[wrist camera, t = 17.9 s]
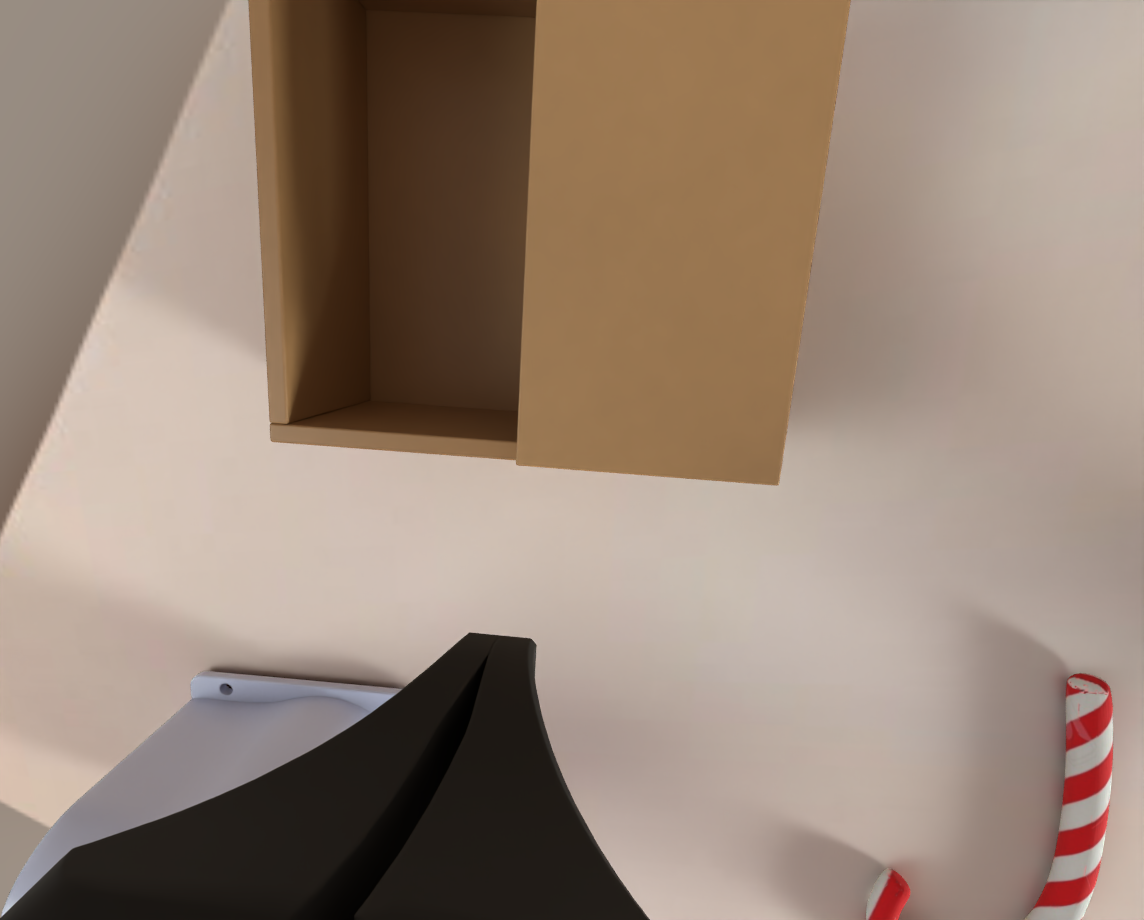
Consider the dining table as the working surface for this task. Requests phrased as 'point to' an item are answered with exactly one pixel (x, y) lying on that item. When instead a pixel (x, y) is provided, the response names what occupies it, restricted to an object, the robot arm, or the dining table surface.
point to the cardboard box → (393, 219)
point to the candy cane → (1079, 816)
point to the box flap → (672, 231)
